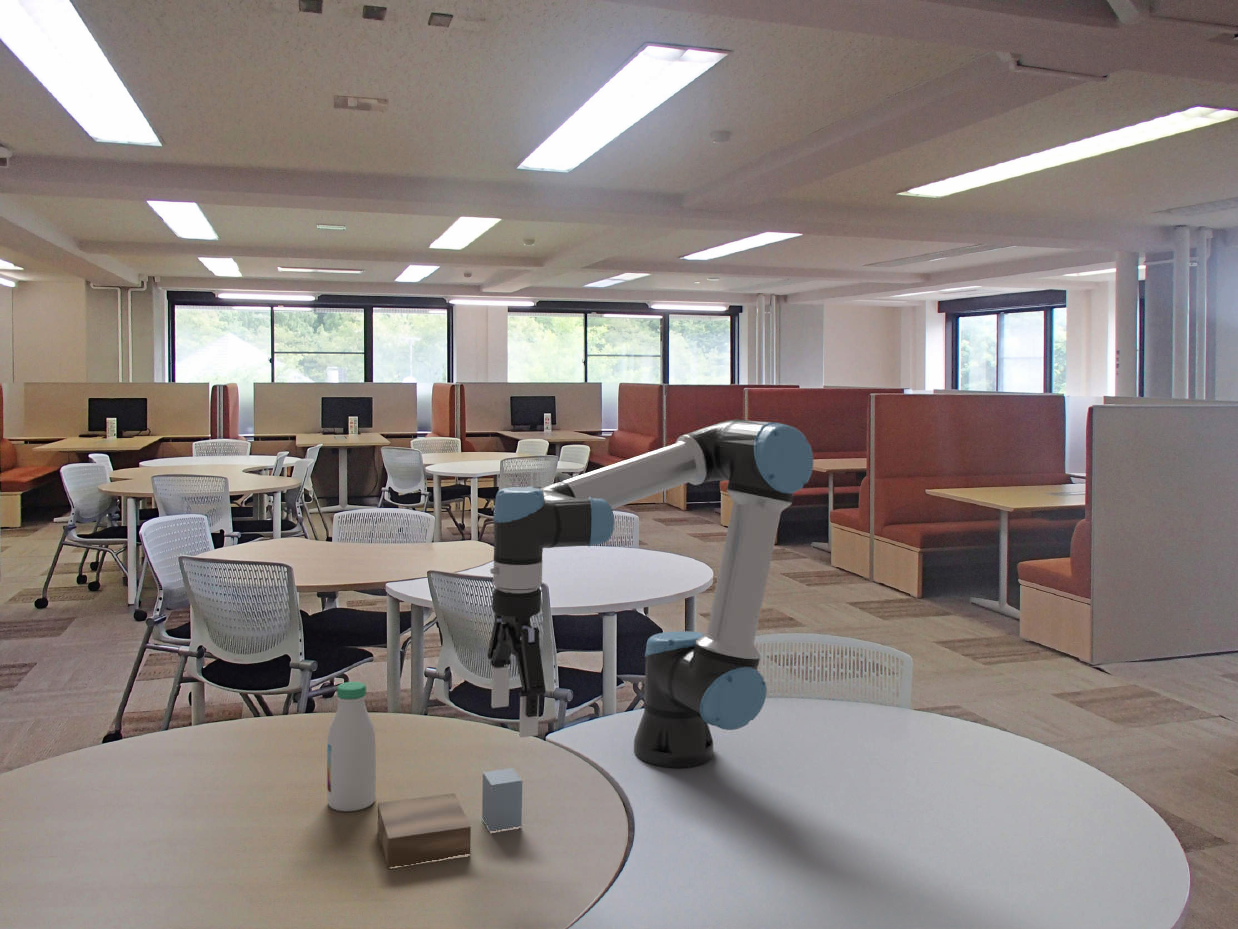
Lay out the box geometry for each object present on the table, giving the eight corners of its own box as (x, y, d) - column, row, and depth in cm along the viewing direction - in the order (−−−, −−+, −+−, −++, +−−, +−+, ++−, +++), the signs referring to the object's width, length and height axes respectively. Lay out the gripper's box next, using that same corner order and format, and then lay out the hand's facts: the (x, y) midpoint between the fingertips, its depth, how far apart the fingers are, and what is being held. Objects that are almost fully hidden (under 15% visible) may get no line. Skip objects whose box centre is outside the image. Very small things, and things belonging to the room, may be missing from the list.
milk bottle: (385, 798, 165) (385, 682, 163) (354, 817, 158) (354, 696, 156) (348, 788, 168) (348, 675, 166) (317, 806, 161) (316, 688, 159)
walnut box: (377, 833, 153) (377, 803, 153) (454, 823, 158) (454, 793, 157) (388, 871, 142) (388, 838, 142) (470, 859, 146) (470, 826, 146)
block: (482, 820, 158) (482, 772, 157) (512, 815, 160) (512, 768, 159) (490, 834, 153) (491, 785, 153) (521, 829, 155) (522, 780, 155)
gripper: (470, 572, 162) (467, 697, 164) (521, 608, 140) (517, 752, 142) (513, 570, 165) (510, 693, 167) (570, 604, 143) (565, 745, 145)
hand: (513, 720), depth 154 cm, fingers open, 13 cm apart
